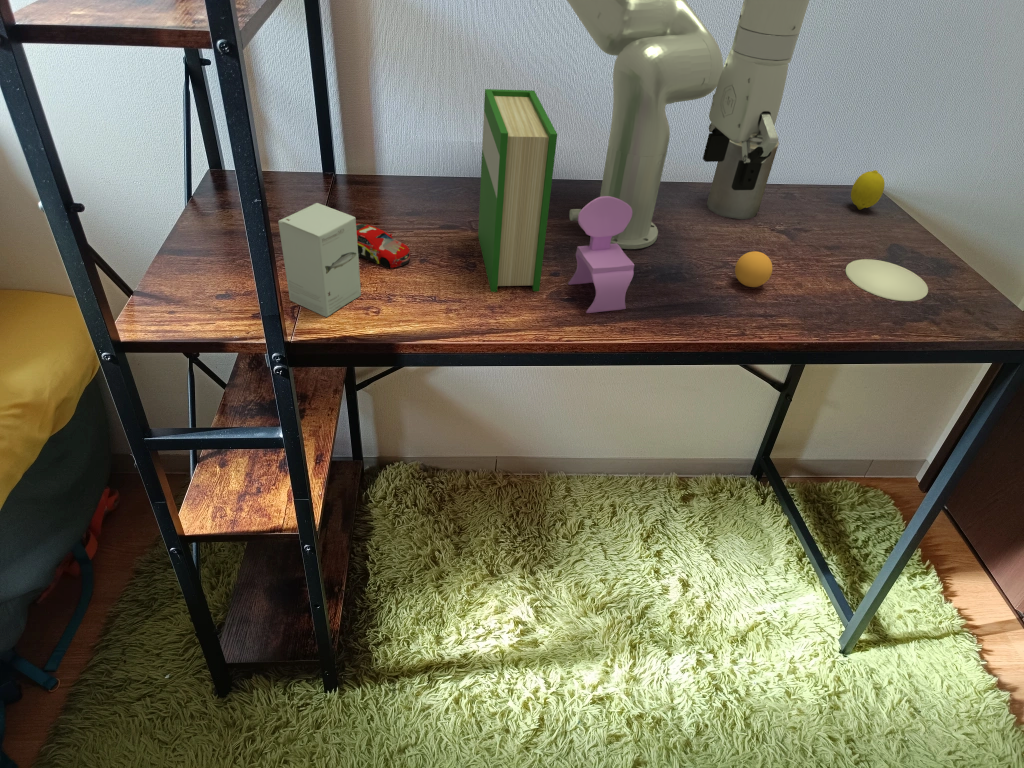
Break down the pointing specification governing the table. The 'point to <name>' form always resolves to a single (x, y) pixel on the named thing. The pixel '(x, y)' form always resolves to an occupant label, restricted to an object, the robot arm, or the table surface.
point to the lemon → (867, 189)
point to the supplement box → (321, 258)
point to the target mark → (886, 280)
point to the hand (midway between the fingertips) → (727, 174)
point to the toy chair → (604, 253)
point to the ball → (753, 269)
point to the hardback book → (515, 186)
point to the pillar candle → (737, 201)
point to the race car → (381, 247)
